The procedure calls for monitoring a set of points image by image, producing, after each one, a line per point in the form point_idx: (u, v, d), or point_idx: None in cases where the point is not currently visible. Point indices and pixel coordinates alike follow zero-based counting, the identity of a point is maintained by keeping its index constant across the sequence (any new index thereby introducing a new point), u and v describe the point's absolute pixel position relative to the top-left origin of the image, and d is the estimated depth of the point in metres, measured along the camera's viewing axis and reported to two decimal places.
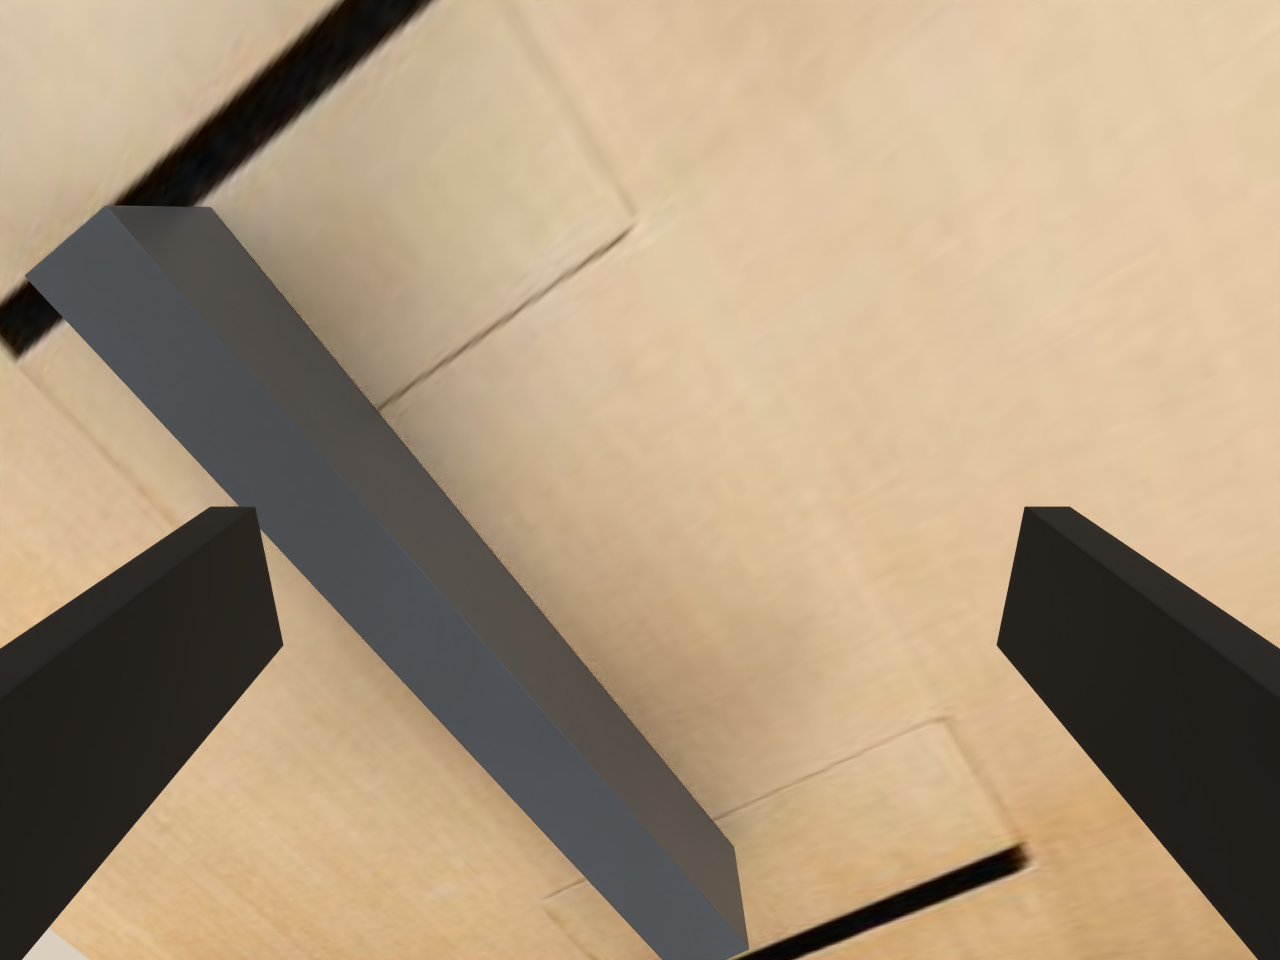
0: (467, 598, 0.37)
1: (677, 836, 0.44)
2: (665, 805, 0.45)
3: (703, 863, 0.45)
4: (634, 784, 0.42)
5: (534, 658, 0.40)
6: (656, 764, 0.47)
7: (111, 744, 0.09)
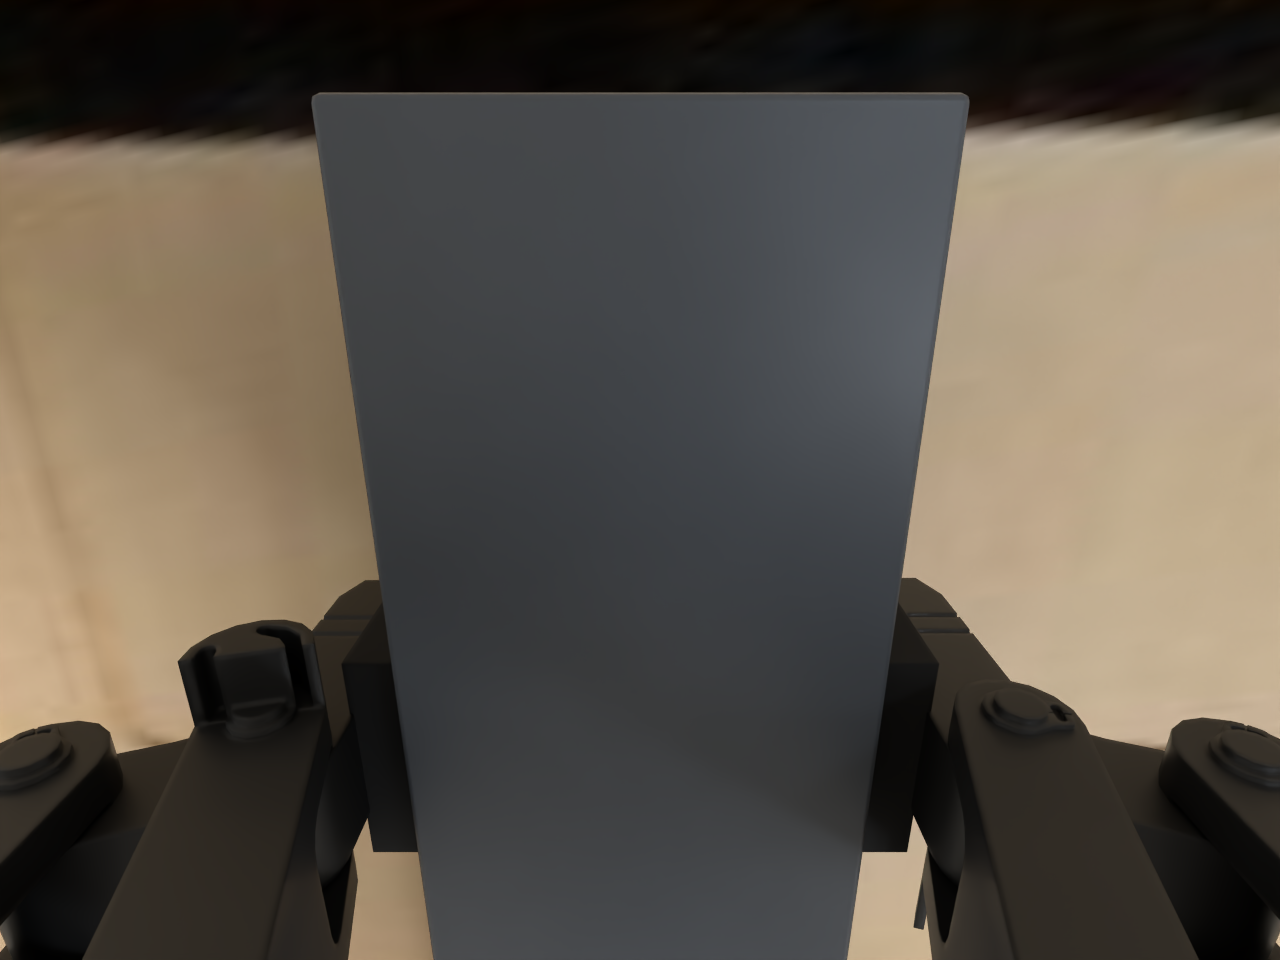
0: None
1: None
2: None
3: None
4: None
5: None
6: None
7: None
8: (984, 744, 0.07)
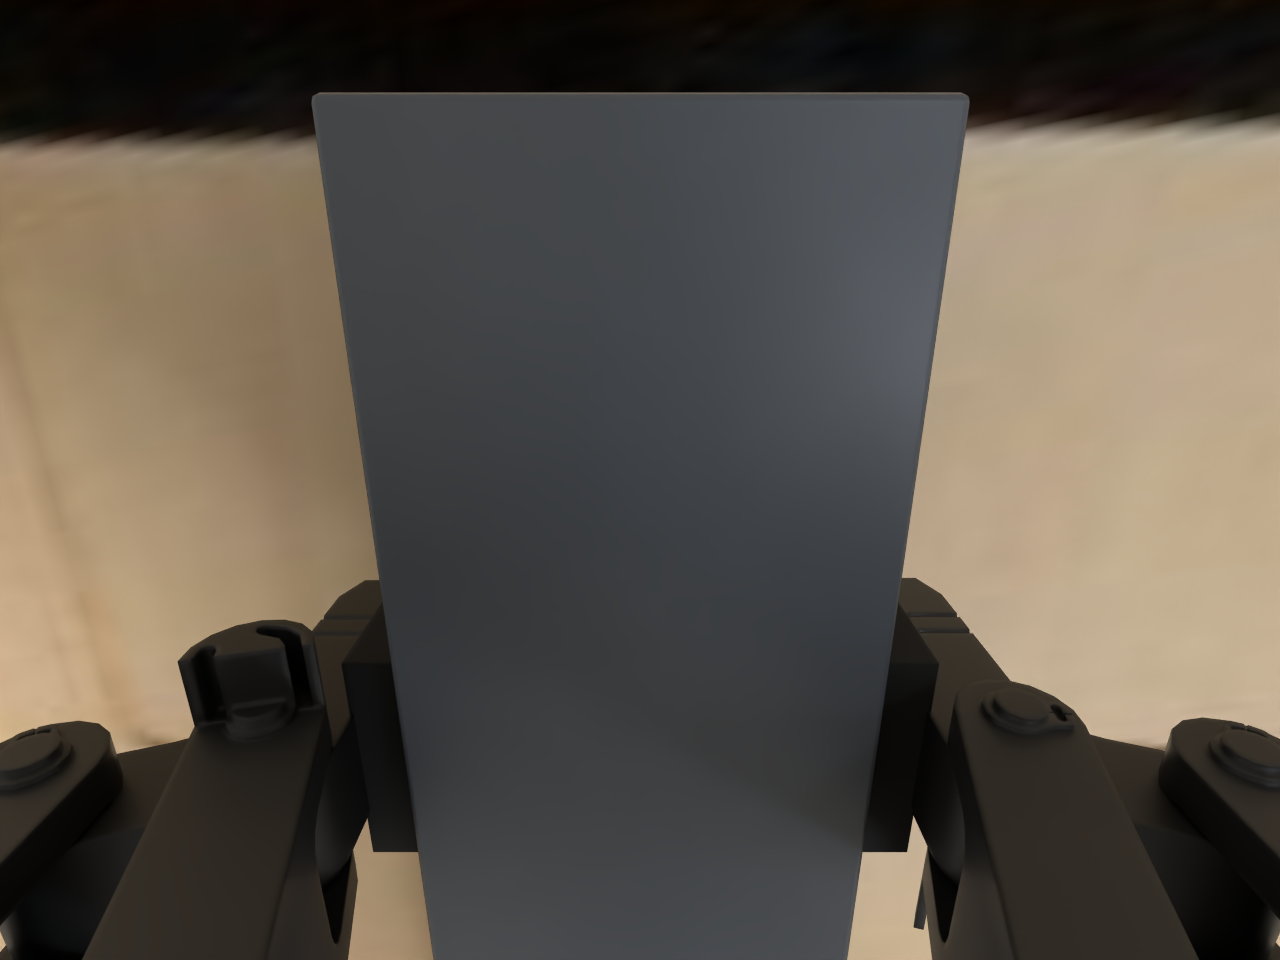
0: None
1: None
2: None
3: None
4: None
5: None
6: None
7: None
8: (984, 744, 0.07)
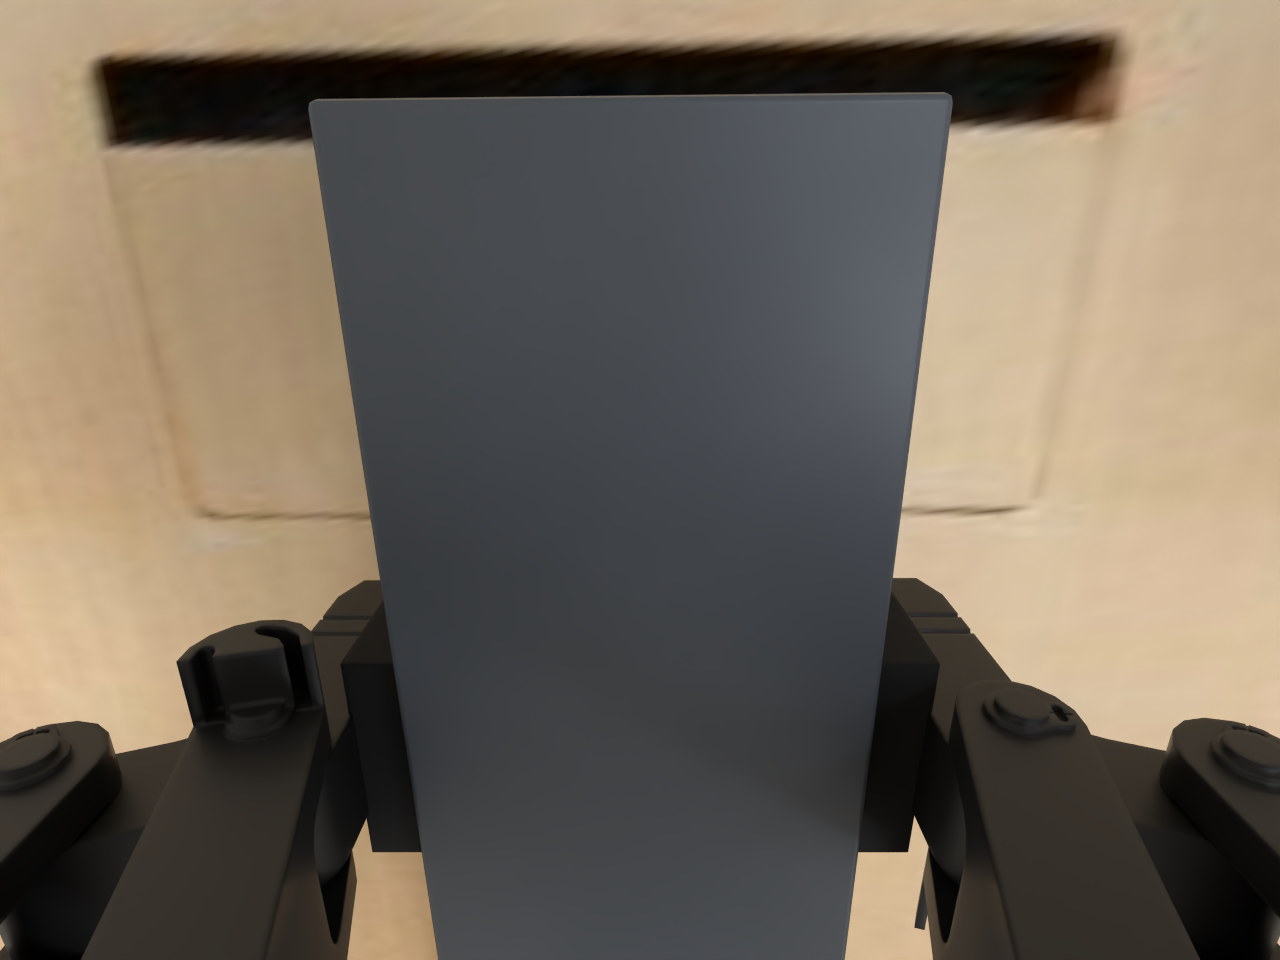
0: None
1: None
2: None
3: None
4: None
5: None
6: None
7: None
8: (985, 744, 0.07)
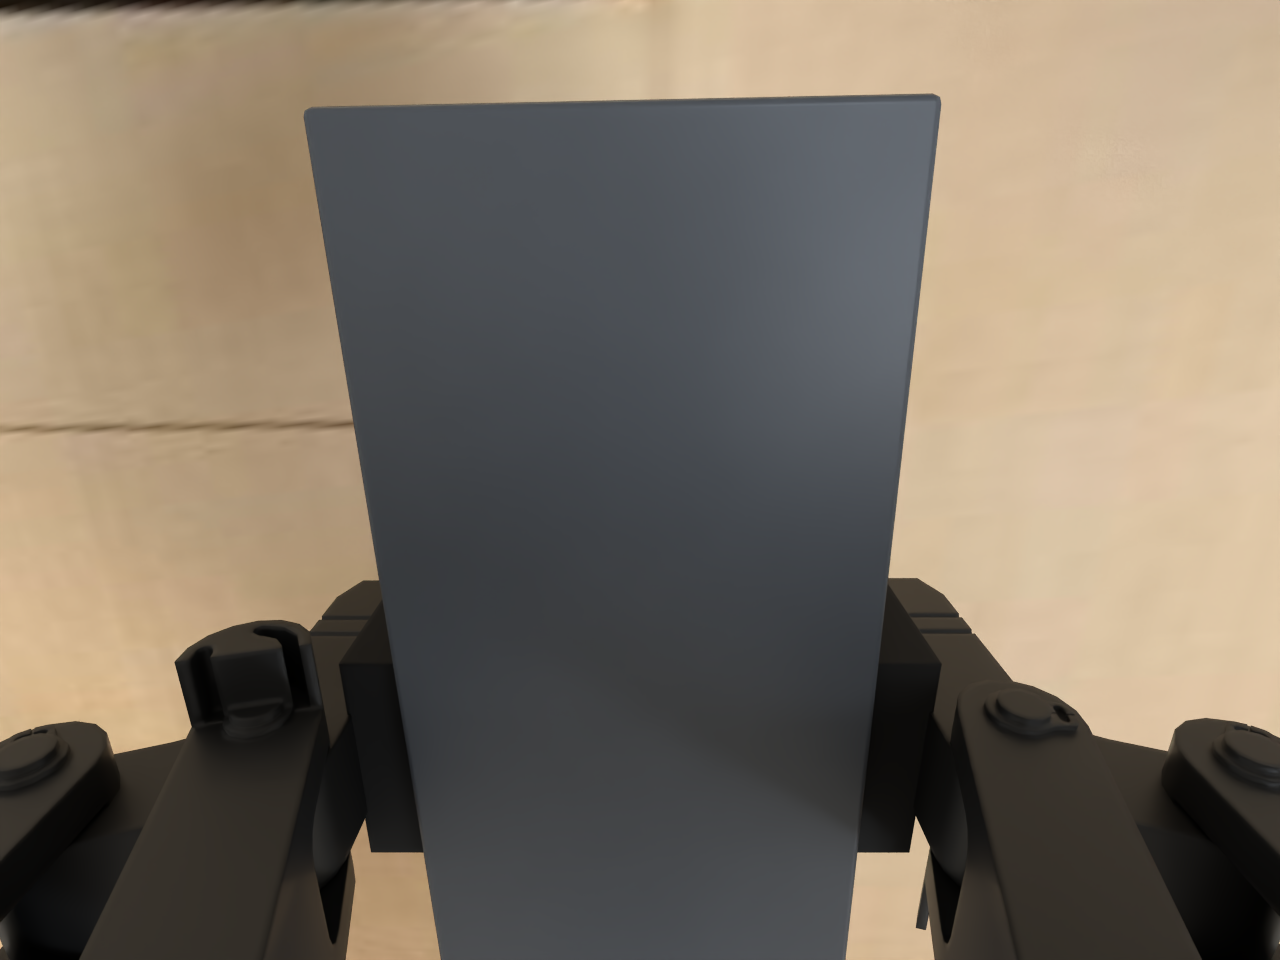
0: None
1: None
2: None
3: None
4: None
5: None
6: None
7: None
8: (988, 744, 0.07)
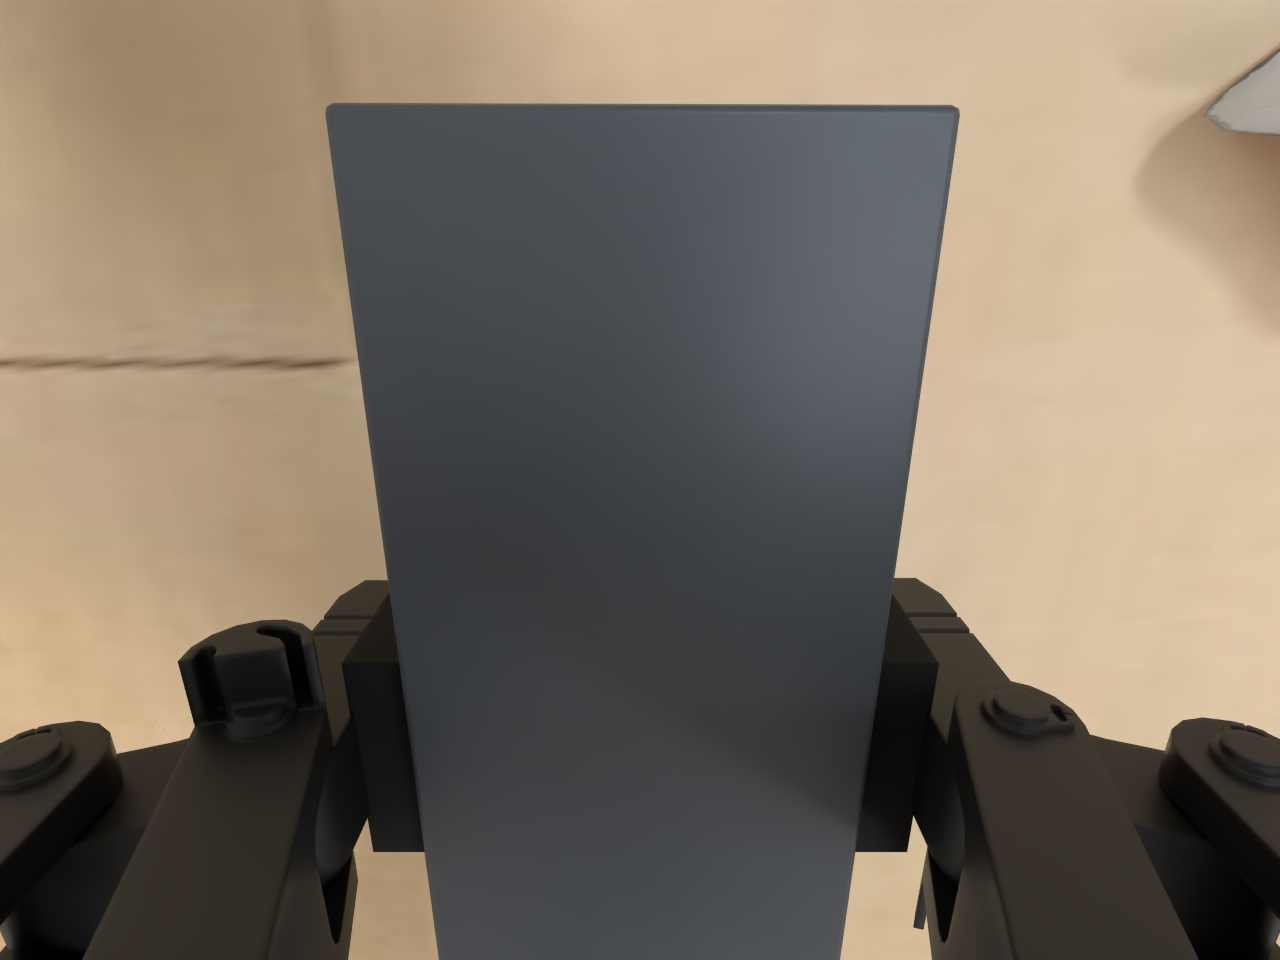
0: None
1: None
2: None
3: None
4: None
5: None
6: None
7: None
8: (983, 743, 0.07)
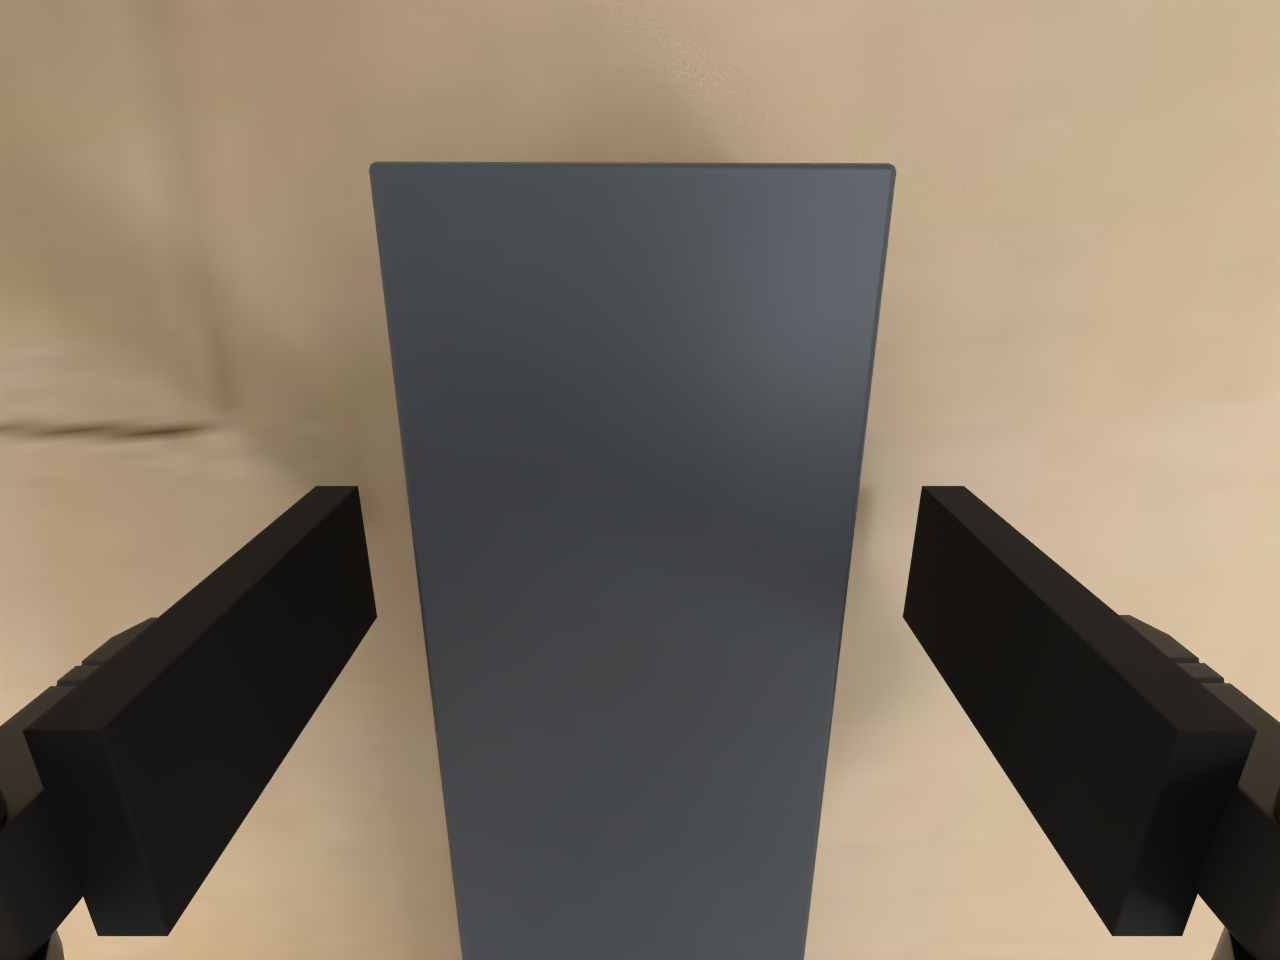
0: None
1: None
2: None
3: None
4: None
5: None
6: None
7: (262, 693, 0.10)
8: None
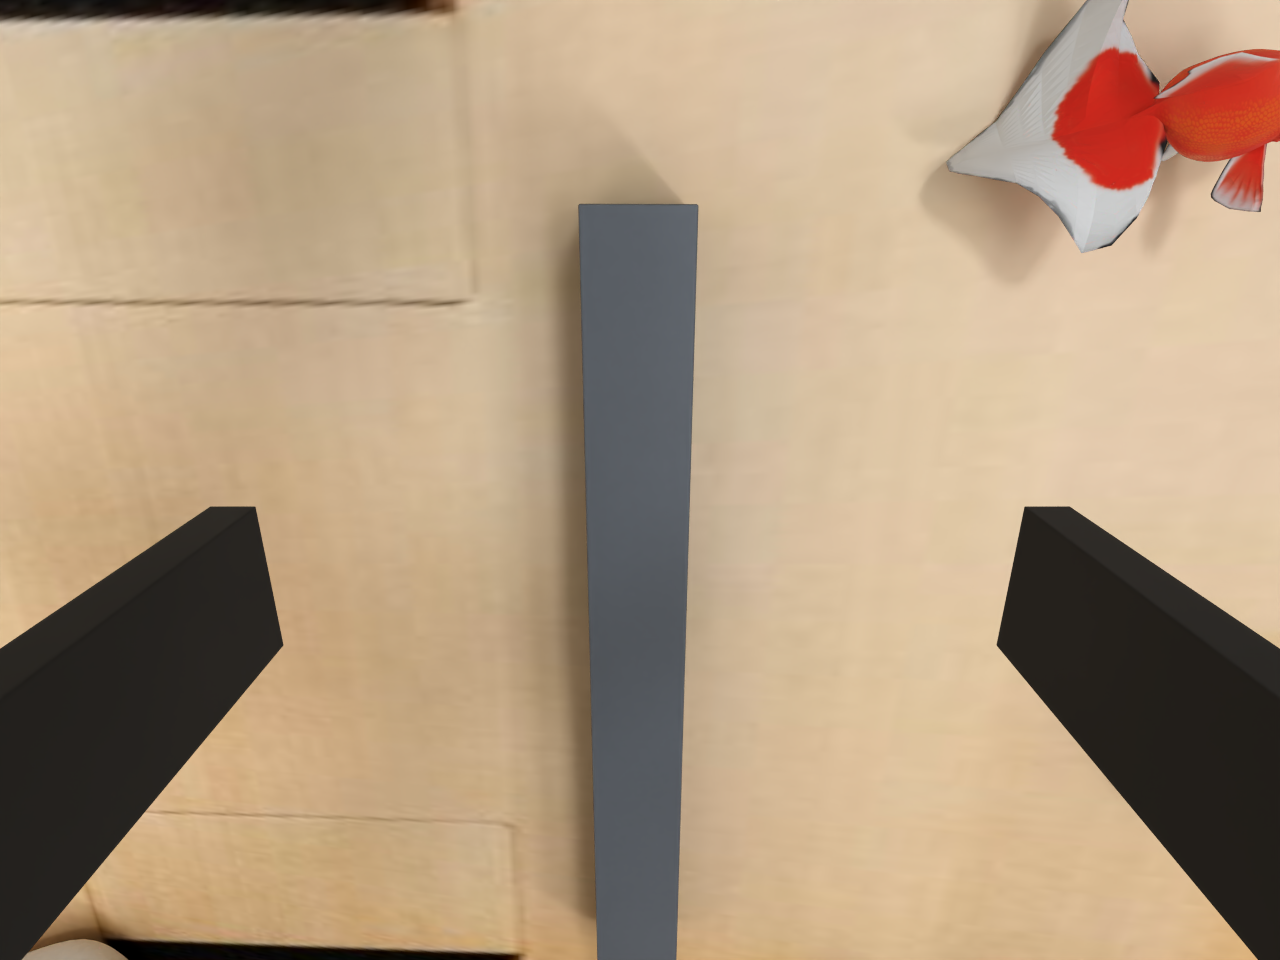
0: None
1: None
2: None
3: None
4: None
5: None
6: None
7: (110, 743, 0.09)
8: None
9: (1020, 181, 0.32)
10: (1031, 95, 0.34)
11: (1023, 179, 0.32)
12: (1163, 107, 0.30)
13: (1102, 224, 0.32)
